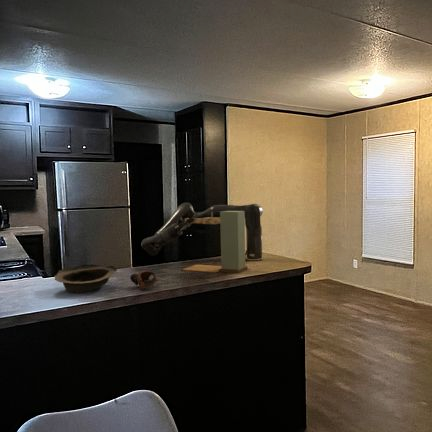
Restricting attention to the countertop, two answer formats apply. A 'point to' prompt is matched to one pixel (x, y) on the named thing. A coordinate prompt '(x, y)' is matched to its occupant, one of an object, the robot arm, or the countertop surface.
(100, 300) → the countertop surface
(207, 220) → the tan bread loaf
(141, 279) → the pottery mug
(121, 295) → the countertop surface
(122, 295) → the countertop surface
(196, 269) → the mat
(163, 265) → the countertop surface
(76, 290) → the stone bowl
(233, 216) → the stand
